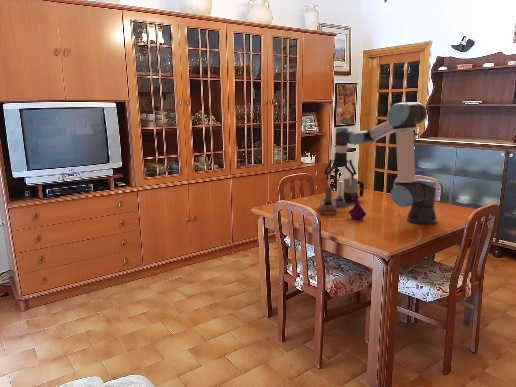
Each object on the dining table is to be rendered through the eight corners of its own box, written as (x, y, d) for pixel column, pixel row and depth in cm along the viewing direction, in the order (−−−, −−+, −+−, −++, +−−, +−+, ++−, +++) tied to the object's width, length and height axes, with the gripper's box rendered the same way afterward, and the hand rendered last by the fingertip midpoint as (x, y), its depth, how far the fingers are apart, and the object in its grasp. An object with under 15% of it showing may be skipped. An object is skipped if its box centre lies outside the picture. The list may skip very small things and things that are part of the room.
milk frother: (348, 203, 264) (349, 181, 261) (333, 198, 278) (334, 177, 274) (365, 200, 270) (366, 178, 267) (350, 195, 284) (350, 175, 281)
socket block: (347, 206, 255) (348, 202, 254) (331, 206, 256) (331, 201, 256) (346, 202, 265) (346, 198, 264) (331, 202, 266) (331, 198, 265)
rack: (335, 214, 238) (336, 205, 236) (320, 214, 239) (320, 205, 238) (334, 206, 255) (334, 198, 254) (319, 206, 256) (320, 198, 255)
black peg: (331, 210, 240) (331, 188, 237) (325, 210, 241) (325, 188, 238) (330, 209, 244) (331, 186, 241) (324, 209, 244) (325, 186, 241)
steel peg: (342, 203, 258) (343, 181, 255) (336, 203, 259) (337, 181, 255) (341, 201, 262) (342, 180, 258) (336, 201, 262) (337, 180, 259)
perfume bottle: (354, 220, 225) (355, 189, 221) (348, 217, 232) (349, 186, 228) (366, 219, 227) (367, 188, 223) (359, 216, 234) (360, 186, 230)
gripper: (360, 151, 255) (358, 184, 260) (320, 151, 258) (319, 183, 263) (361, 153, 248) (360, 186, 253) (321, 152, 251) (320, 185, 256)
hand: (339, 185), depth 258 cm, fingers open, 13 cm apart
